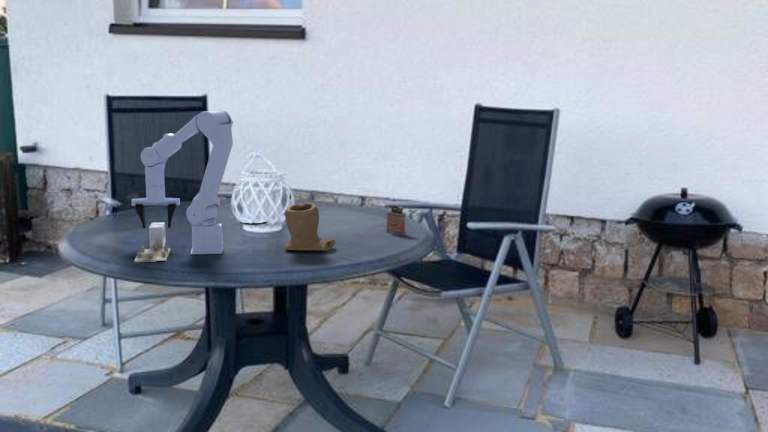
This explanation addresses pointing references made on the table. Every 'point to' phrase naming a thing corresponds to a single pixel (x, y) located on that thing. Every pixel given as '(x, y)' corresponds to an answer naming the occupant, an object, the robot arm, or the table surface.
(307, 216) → the brown hollow piece
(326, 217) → the table surface
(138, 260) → the birch pin tray
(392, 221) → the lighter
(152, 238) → the block
